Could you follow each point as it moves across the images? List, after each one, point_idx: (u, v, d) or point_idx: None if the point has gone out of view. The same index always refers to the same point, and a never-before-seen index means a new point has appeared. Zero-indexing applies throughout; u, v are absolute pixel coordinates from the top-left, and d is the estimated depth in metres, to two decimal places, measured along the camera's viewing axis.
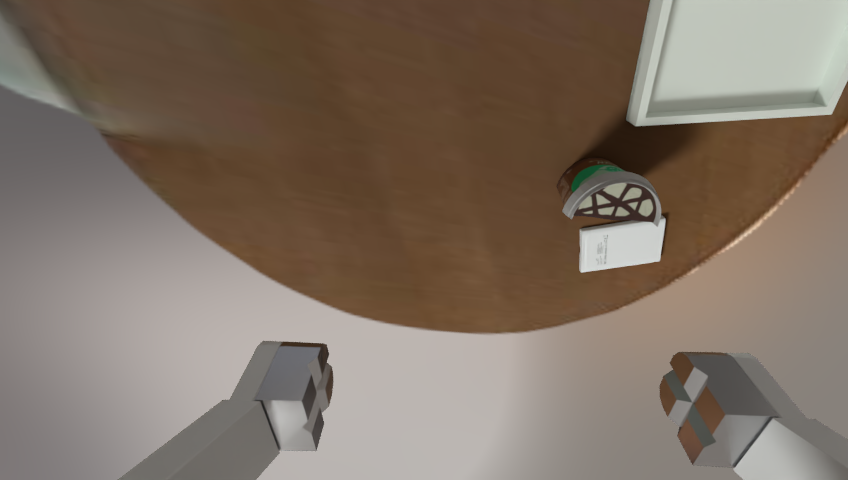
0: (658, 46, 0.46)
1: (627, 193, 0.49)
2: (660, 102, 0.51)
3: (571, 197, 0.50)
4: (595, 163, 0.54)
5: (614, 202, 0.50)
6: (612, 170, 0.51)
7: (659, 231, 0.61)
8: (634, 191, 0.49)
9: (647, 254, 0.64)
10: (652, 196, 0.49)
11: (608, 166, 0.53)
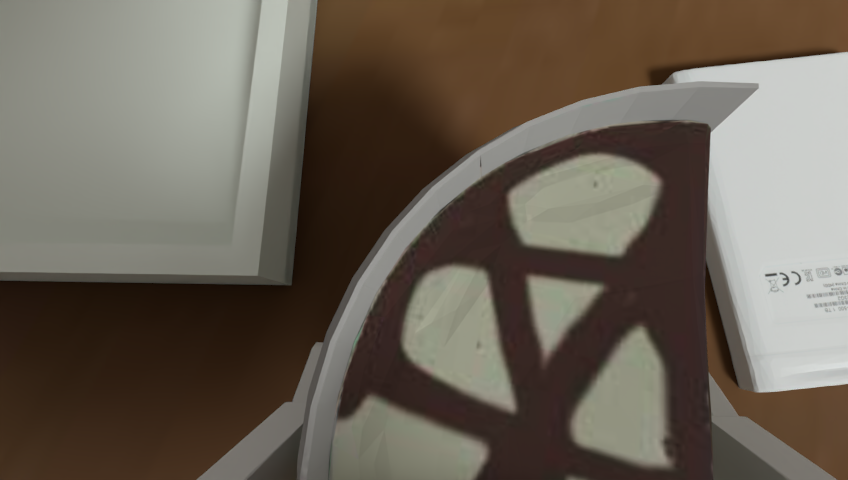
0: None
1: (448, 376, 0.06)
2: (238, 190, 0.16)
3: None
4: None
5: (527, 478, 0.06)
6: None
7: (731, 80, 0.16)
8: (434, 323, 0.06)
9: (846, 100, 0.16)
10: (484, 184, 0.07)
11: None
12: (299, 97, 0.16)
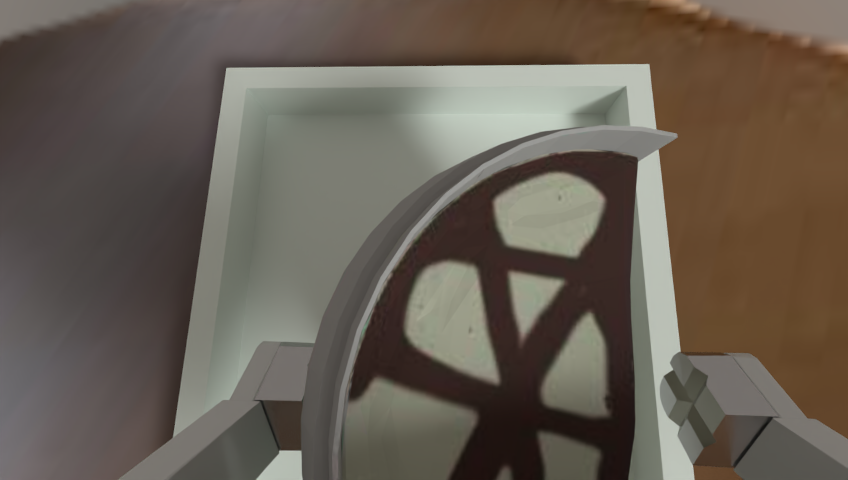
0: None
1: (445, 357, 0.07)
2: None
3: None
4: None
5: (508, 436, 0.07)
6: None
7: None
8: (433, 312, 0.07)
9: None
10: (476, 191, 0.08)
11: None
12: None
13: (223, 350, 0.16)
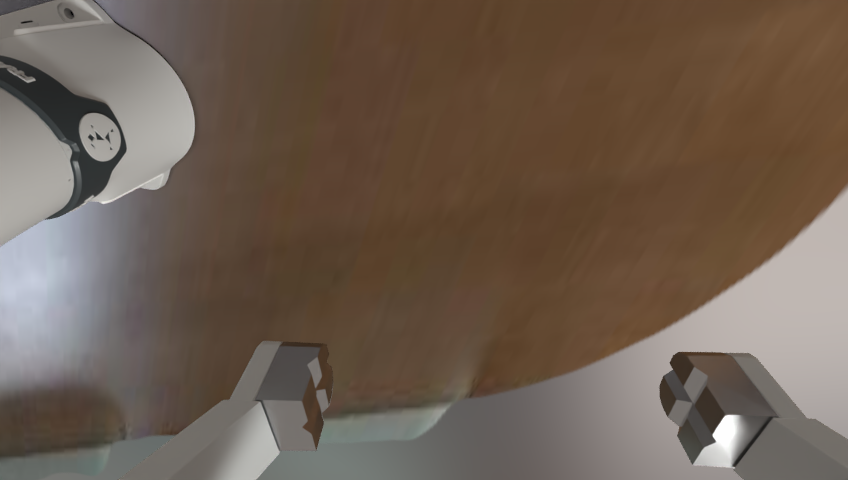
0: None
1: None
2: None
3: None
4: None
5: None
6: None
7: None
8: None
9: None
10: None
11: None
12: None
13: None
